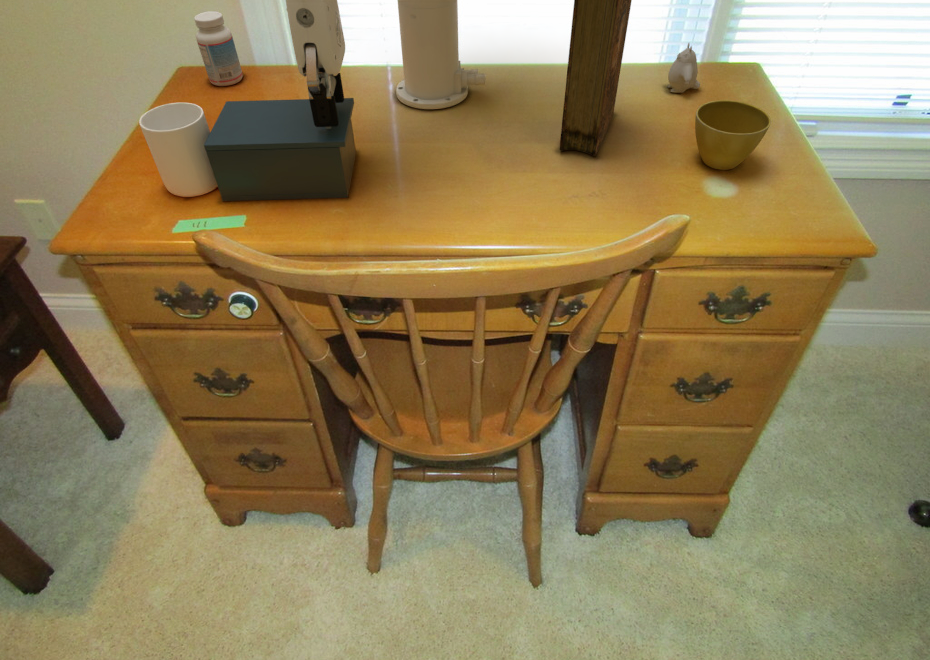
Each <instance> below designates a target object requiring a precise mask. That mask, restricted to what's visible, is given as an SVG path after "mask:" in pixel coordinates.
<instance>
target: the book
mask: <svg viewBox="0 0 930 660" xmlns="http://www.w3.org/2000/svg"><path fill="white" fill-rule="evenodd" d="M631 6H632V0H573V8H572V9H573V10H572V19H571V28H570V29H571V30H570V40H569V48H568V59H567V70H566V80H565V90H564V99H563V110H562V120H561V128H560V129H561V130H560V139H559V151H561V152H564V151H578V152H582V153H586V154H588V155H590V156H592V157H596V156H597V154H598V152H599V149H600V147H601V145H602V142H603V140H604V137H605V136H606V133H607V131H608V129H609V125H610V123H611V121H612V119H613V116H614V113H615V105H616V99H617V93H618V88H619V87H618V86H619V81H620V74H621V68H622V62H623V56H624V51H625V44H626V37H627V30H628V25H629V18H630V13H631Z"/></svg>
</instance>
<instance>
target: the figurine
mask: <svg viewBox="0 0 930 660" xmlns="http://www.w3.org/2000/svg"><path fill="white" fill-rule="evenodd" d="M697 60H698V59H697V54H696V52H695V51H694V50H693V47H692V46H690V42H688V43H687V46H686V48H685V49H683V51H681V52H679V53H678V54H677V56H676V59H675V60H674V61H673V62H672V64H671V66H670V67H669V70H668V74H667V80H668V85H667V86H666V88H670V89H669V90H668V92H669V93H675V94H676V93H678V94H682V93H685V92H686V91H688V90H689V89H692V90H698V89H700V87H701V82H700V81H698V80H697V79H698V78H697V77H698V72H699V71H698V61H697Z"/></svg>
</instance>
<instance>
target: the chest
mask: <svg viewBox="0 0 930 660" xmlns="http://www.w3.org/2000/svg"><path fill="white" fill-rule="evenodd" d="M206 153H207V156H208V159H209V162H210V165H211V168H212V171H213V174H214V177H215V180H216V183H217V186H218V187H217V188H218V192H219V194H220V198H221V201H222V202H244V201H279V200H310V199H311V200H313V199H346V198H347V199H348V198H349V194H350V188H351V183H352V177H353V173H354V172H353V171H354V166H355V160H356V155H357V149H356V143H355V136H354V130H353V123H352V120H351V121H350V126H349V131H348V136H347V141H346V146H345V147H319V148H284V149H248V150H212V151H206Z"/></svg>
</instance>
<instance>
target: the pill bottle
mask: <svg viewBox="0 0 930 660" xmlns="http://www.w3.org/2000/svg"><path fill="white" fill-rule="evenodd" d="M193 20H194V23H195V26H196V27H197V29H198V30H197V31H196V33H195V40H196V42H197V46H198V49H199V52H200V56H201V58H202V62H203V65H204V68H205V70H206V74H207V77H208V80H209V82H210V83H211V84H212V85H214V86H218V87H227V86H232V85H236V84H238V83H240V81H242V79H243V78H244V77H243V76H244V74H243V70H242V67H241V62H240V58H239V56H238V52H237V47H236V45H235V41H234V38H233V37H234V36H233V34H232V31H231V29H230V28H229V27H228V26H226V25H224V24H225V20H224V17H223V13H221V12H220V11H216V10H210V11H204V12H200V13H197V14H196V15H195V16H194V19H193Z"/></svg>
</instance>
